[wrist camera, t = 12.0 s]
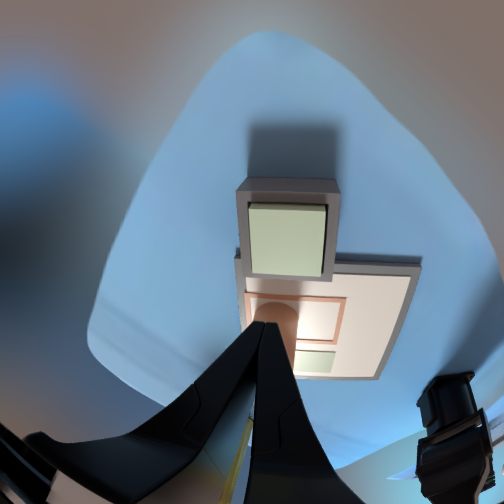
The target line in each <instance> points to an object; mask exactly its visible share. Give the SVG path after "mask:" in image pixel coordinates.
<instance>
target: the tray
mask: <svg viewBox="0 0 504 504" xmlns="http://www.w3.org/2000/svg"><path fill="white" fill-rule="evenodd" d="M234 264H235V274H236V284H237V294H238V303H239V312H240V322H241V331H242V332H243V331H244V330H245V329H246V328H247V327H248V326H249V325H250V324H251V323H252V321H253V318H254V314H255V311H256V310H257V308H258V307H260V306H261V305H263V304H265V303H268V302H280V303H284V304H287V305H289V306H290V307H292V308H293V309H294V310H295V311H296V313H297V315H298V330H297V340H296V350H295V360H294V369H293V373H294V376H295V378H297V379H315V380H378V379H379V377H380V375H381V373H382V371H383V369H384V367H385V365H386V363H387V361H388V358H389V356H390V354H391V352H392V349H393V347H394V345H395V343H396V340H397V338H398V335H399V333H400V330H401V328H402V325H403V323H404V320H405V318H406V315H407V312H408V309H409V307H410V304H411V301H412V298H413V295H414V292H415V289H416V286H417V283H418V280H419V276H420V273H421V270H422V267H421V265H420V264H409V263H386V262H364V261H343V260H335V262H334V270H333V278H332V282H318V281H299V280H281V279H264V278H249V277H243V276H242V265H241V255H235V258H234Z"/></svg>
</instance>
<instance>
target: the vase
mask: <svg viewBox="0 0 504 504" xmlns="http://www.w3.org/2000/svg"><path fill="white" fill-rule="evenodd" d="M252 427H253V421H252V420H251V419H250V418H248V420H247V423H246V426H245V429H244V432H243V435H242V438H241V441H240V444H239V447H238V450H237V453H236V455H235V458H234V461H233V464H232V467H231V470H230V472H229V475H228V478H227V480H226V484H225V486H224V489H223V492H222V494H221V497H220V500H219V502H218V504H230V503H231V499H232V495H233V492H234V489H235V485H236V482H237V478H238V475H239V471H240V468H241V464H242V461H243V458H244V455H245V452H246V448H247V445H248V441H249V438H250V434H251V430H252Z"/></svg>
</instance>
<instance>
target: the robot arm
mask: <svg viewBox="0 0 504 504" xmlns="http://www.w3.org/2000/svg"><path fill="white" fill-rule="evenodd" d="M474 376H475V373H474V372H467V373H461V374H455V375H448V376H440V377H437V378H435V379H434V380H433V382H432V383H431V384H430V386H429V387H428V389H427V390H426V391H425V393H424V394H423V395H422V397H421V398H420V399H419V401H418V402H417V403H416V405H417V407H420V411H421V417H422V423H423V427H424V428H426V429H427V436H428V437H425V438H422V439H419V440H418V446H417V465H416V471H415V474H416V475H417V476H418V478H419V481H420V483H421V493H422V494H423V496H424V497H425V498H428V499H429V501H431V503H432V504H478V496H479V494H480V492H481V490H482V488H483V486H484V484H485V481H486V479H487V477H488V475H489V472H490V466H489V458H488V456H489V455H491V454H493V447H492V439H491V433H490V428H489V424H488V420H487V416H486V414H485V412H484V410H483V407H482V408H481V409H479V411H478V410H477V406H476V403H475V399H474V396H473V392H472V389H471V386H470V383H469V382H470V381H471V380H472V379H473V377H474ZM254 398H255V405H254V419H253V433H252V446H251V459H250V469H249V477H248V483H247V488H246V493H245V498H244V503H243V504H365V503H364V502H363V501H362V500H361V499H360V498H359V497H358V496H357V495H356V494H355V493H354V492H353V491H352V490H351V489H350V488H349V487H348V486H347V485H346V484H345V483H344V482H343V481H342V480H341V479H340V477H339V476H338V475H337V473H336V472H335V470H334V469H333V467H332V465H331V463H330V462H329V460H328V458H327V456H326V454H325V452H324V450H323V448H322V446H321V444H320V442H319V440H318V438H317V436H316V434H315V432H314V430H313V428H312V426H311V423H310V421H309V419H308V416H307V413H306V410H305V407H304V404H303V401H302V398H301V395H300V392H299V389H298V386H297V382H296V379H295V376H294V373H293V370H292V366H291V363H290V360H289V357H288V354H287V351H286V347H285V344H284V341H283V338H282V335H281V332H280V328H279V325H278V323H277V322H266V323H265V322H264V321H256V320H255V321H252V323H251V324H250V325H249V326H248V327H247V328H246V329H245V330H244V331H243V332H242V333H241V334H240V335H239V336H238V337H237V338H236V340H235V341H234V342H233V343H232V344H231V345H230V346H229V347H228V348H227V349H226V350H225V351H224V352H223V353H222V354H221V355H220V356H219V357H218V358H217V359H216V360H215V361H214V362H213V363H212V364H211V365H210V366H209V367H208V368H207V369H206V370H205V371H204V372H203V373H202V374H201V375H200V376H199V377H198V378H197V379H196V380H195V381H194V384H191V385H190V386H189V387H188V388H187V389H186V390H185V391H184V392H183V393H182V394H181V395H180V396H179V397H178V398H176V399H175V400H174V401H173V402H172V403H170V404H169V405H168V406H167V407H165V408H164V409H163V410H161V411H160V412H159V413H157V414H156V415H154V416H153V417H152V418H150V419H149V420H147V421H146V422H145V423H143V424H142V425H140V426H139V427H137V428H136V429H134V430H133V431H131V432H129V433H126V434H124V435H121V436H117V437H111V438H106V439H100V440H93V441H86V442H78V443H62V442H58V441H55V440H54V439H52V438H51V437H49V436H48V435H47V434H45V433H44V432H42V431H39V432H35V433H31V434H28V435H26V436H25V437H23V438H22V439H20V438H19V437H18V436H17V435H15V434H14V433H13V432H12V431H11V430H9V429H8V428H7V427H6V426H5V425H3V424H2V423H1V422H0V504H218V502H219V500H220V497H221V494H222V492H223V489H224V486H225V484H226V480H227V478H228V475H229V472H230V470H231V467H232V464H233V461H234V458H235V455H236V453H237V450H238V447H239V444H240V441H241V438H242V435H243V432H244V429H245V426H246V423H247V420H248V417H249V413H250V410H251V407H252V404H253V401H254ZM480 424H482V426H480V427H477V426H479V425H480ZM498 504H504V501H502V502H500V503H498Z"/></svg>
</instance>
